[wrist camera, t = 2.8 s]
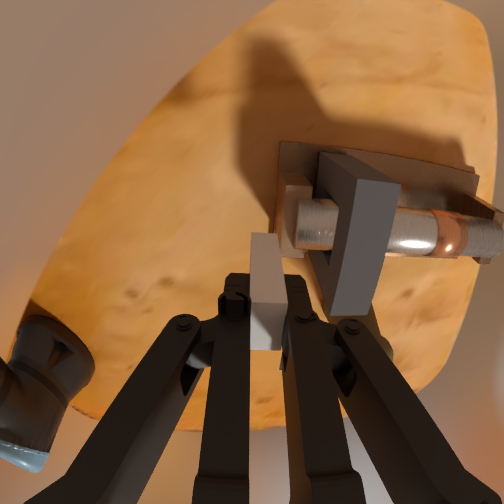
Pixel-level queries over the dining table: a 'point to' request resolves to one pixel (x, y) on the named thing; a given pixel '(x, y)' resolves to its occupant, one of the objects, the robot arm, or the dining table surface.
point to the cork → (368, 321)
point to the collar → (354, 232)
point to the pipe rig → (407, 212)
